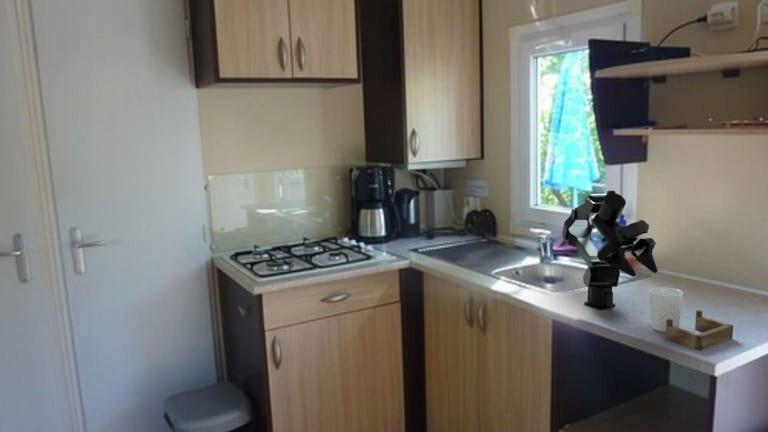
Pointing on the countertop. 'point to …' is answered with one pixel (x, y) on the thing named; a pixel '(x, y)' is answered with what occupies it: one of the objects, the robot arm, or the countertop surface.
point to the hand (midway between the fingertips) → (645, 273)
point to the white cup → (665, 307)
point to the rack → (711, 336)
